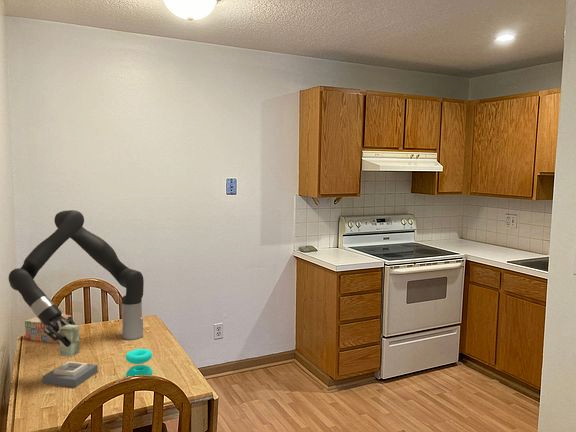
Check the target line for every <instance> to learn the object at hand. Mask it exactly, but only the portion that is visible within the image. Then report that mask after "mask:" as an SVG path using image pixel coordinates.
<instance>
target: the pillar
mask: <svg viewBox="0 0 576 432" xmlns="http://www.w3.org/2000/svg"><path fill="white" fill-rule="evenodd" d="M61 330H62V332H63V334H64V335H65V336H66V337H67V339H68V340H69V341H70V342H71V345H70V346H68V347H66V346H65V345H64V344H63V343H62V342H61V341H60V344H59V356H60V357H65V358H66V357H67V358H73V357H75V356H77V355H78V354H79V353H80V349H81V347H80V346H81V345H80V343H81V342H80V340H79V336H80V325H79V324H75V325H70V324H69V325H65V326H63V327H62V328H61ZM59 335H60V334H59ZM65 336H64V337H65Z"/></svg>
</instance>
